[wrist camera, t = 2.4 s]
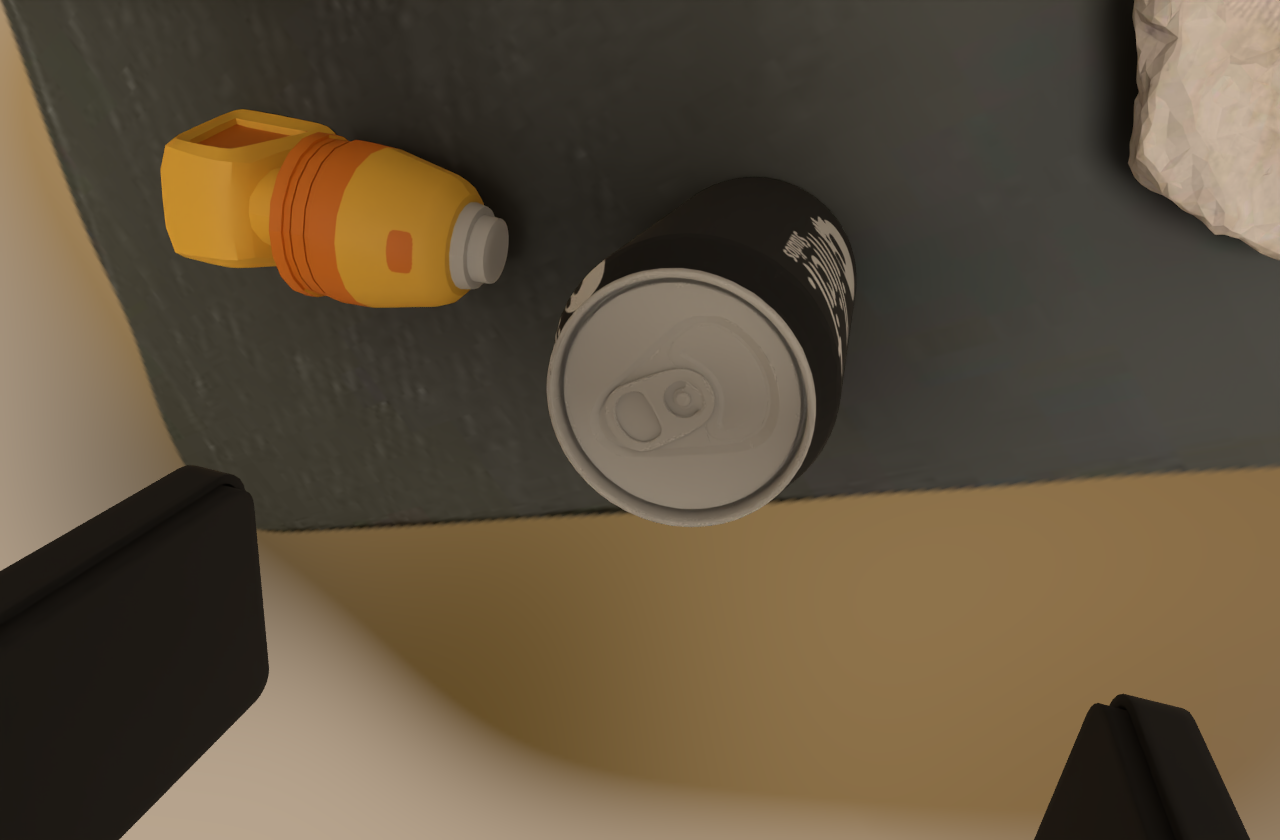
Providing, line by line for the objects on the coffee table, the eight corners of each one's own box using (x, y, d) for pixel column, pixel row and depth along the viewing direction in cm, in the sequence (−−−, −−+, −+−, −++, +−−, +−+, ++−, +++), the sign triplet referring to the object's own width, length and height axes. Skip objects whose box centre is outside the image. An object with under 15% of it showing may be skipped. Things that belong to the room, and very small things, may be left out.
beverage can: (889, 325, 28) (889, 490, 17) (711, 396, 30) (615, 579, 20) (806, 136, 26) (750, 189, 16) (625, 228, 29) (472, 328, 18)
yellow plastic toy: (537, 157, 29) (224, 99, 31) (468, 177, 24) (101, 108, 26) (524, 309, 31) (233, 246, 33) (458, 356, 26) (122, 279, 28)
